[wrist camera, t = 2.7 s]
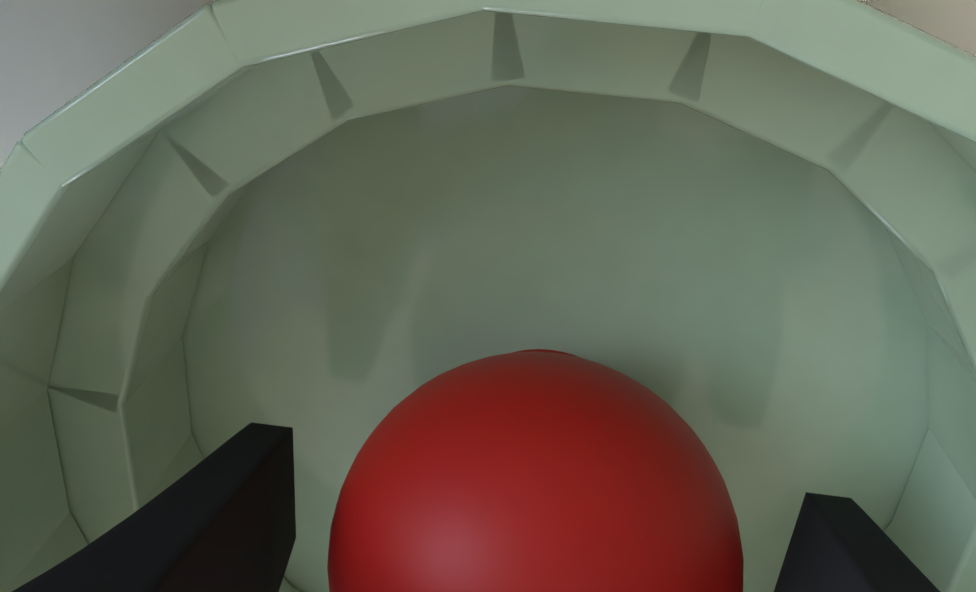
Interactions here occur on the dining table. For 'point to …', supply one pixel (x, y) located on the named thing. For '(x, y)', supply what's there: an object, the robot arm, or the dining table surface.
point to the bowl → (500, 252)
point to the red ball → (534, 488)
